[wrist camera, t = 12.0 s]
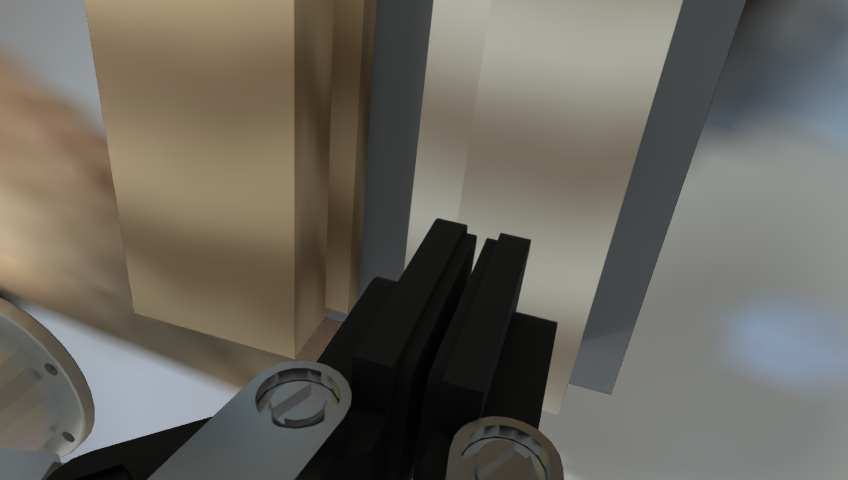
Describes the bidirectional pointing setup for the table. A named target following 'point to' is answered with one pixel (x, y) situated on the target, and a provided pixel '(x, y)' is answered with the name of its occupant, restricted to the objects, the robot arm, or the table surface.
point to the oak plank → (238, 158)
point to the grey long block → (538, 139)
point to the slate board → (645, 195)
